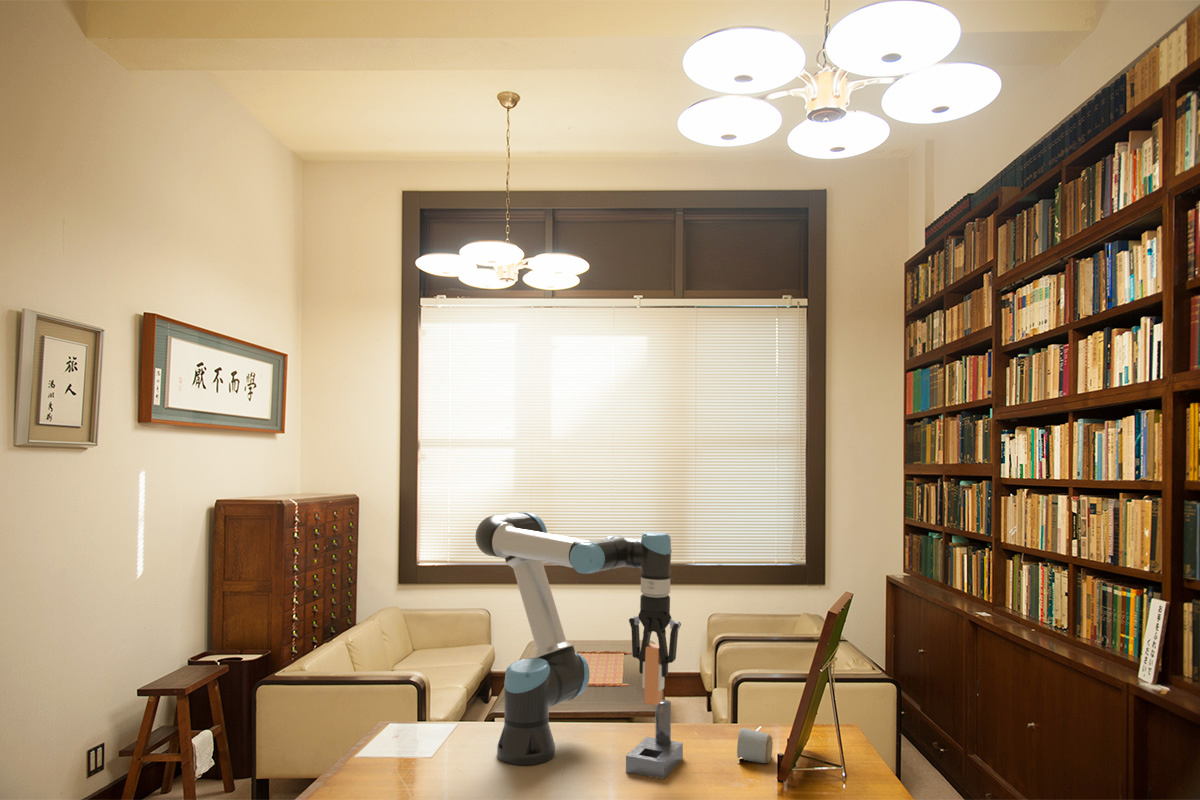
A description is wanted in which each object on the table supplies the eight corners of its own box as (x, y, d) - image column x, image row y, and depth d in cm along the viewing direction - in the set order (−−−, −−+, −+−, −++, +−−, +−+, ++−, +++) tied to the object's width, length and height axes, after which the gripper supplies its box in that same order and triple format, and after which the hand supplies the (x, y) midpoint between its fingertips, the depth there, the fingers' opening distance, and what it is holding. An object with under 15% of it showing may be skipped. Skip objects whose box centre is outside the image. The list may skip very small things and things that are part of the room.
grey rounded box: (768, 768, 199) (768, 737, 200) (736, 763, 202) (736, 732, 203) (775, 754, 209) (775, 724, 210) (744, 749, 212) (744, 720, 213)
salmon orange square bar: (644, 703, 199) (645, 646, 199) (649, 699, 202) (650, 643, 202) (657, 705, 197) (658, 648, 198) (661, 701, 200) (662, 645, 201)
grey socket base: (625, 772, 196) (626, 714, 197) (647, 751, 210) (648, 697, 211) (663, 779, 192) (663, 720, 193) (683, 757, 206) (683, 702, 207)
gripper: (619, 593, 201) (617, 687, 200) (681, 600, 194) (679, 697, 193) (630, 588, 208) (628, 679, 206) (690, 595, 201) (689, 688, 200)
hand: (653, 687), depth 200 cm, fingers closed on salmon orange square bar, 3 cm apart
